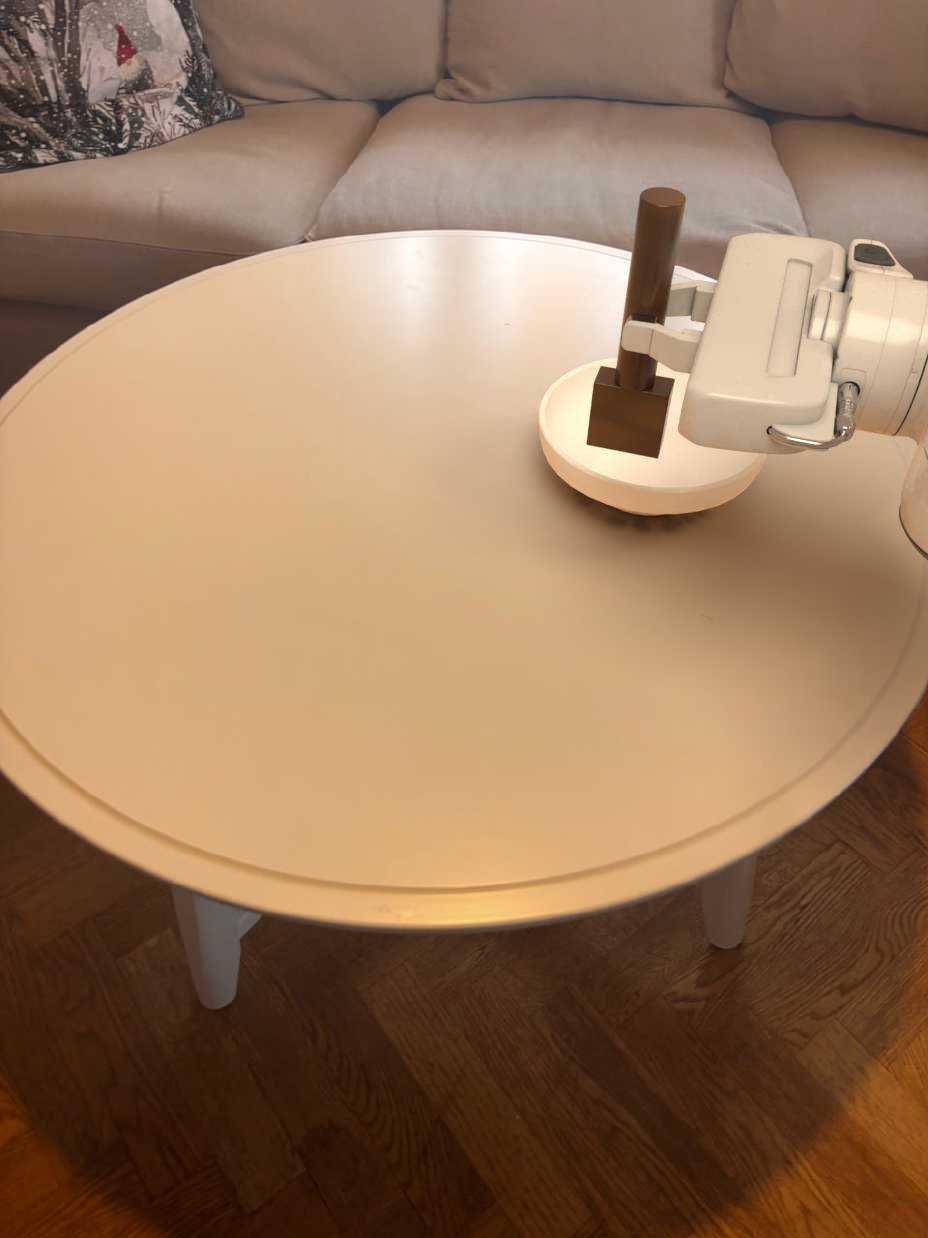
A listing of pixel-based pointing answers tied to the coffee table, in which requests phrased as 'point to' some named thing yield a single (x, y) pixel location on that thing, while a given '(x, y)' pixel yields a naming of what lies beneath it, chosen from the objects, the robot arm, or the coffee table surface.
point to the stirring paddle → (632, 392)
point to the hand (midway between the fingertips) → (630, 314)
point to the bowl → (634, 480)
